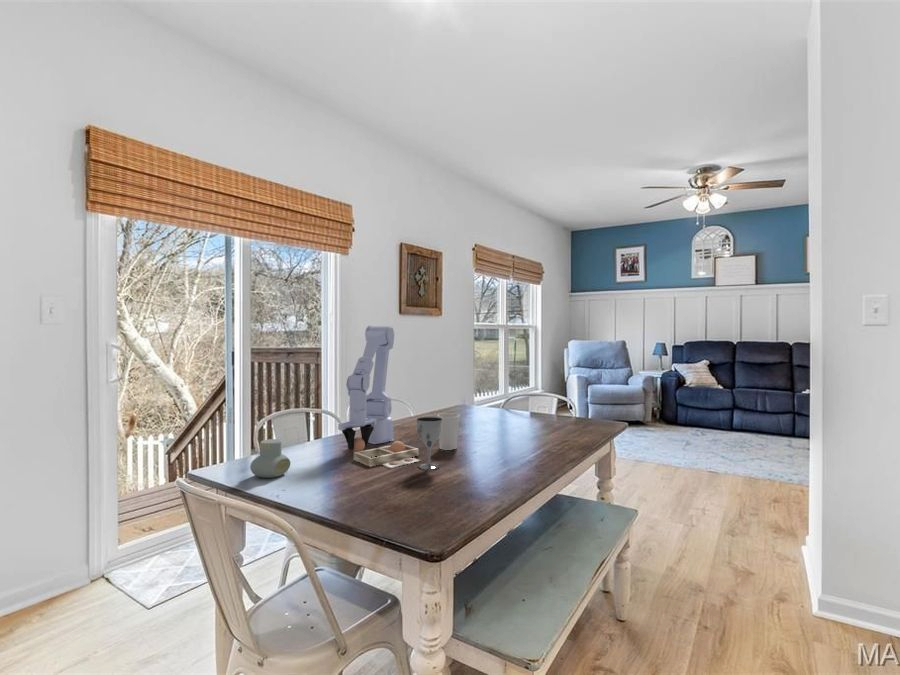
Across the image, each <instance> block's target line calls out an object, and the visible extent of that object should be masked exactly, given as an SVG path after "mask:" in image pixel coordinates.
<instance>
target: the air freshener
mask: <svg viewBox="0 0 900 675" xmlns="http://www.w3.org/2000/svg"><path fill="white" fill-rule="evenodd" d="M249 466H250V468H249V469H250V471H251V473H252V474H253V475H254V476H256V477H259V478H261V479H262V478H263V479H275V477H276V478H279V477H281V476H282V475H284V474H285V473H287V472H288V470H289V469H290V468H291V461H290V458H289V457H288V456H287V455H285V454H283V453H282V440H280V439H277V438H275V439H274V438H272V439H271V438H270V439H269V438H268V439H264V440H260V442H259V455H258V456H256V457H255V458H254V459H253V460H251V463H250V465H249Z"/></svg>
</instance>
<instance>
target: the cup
mask: <svg viewBox="0 0 900 675" xmlns="http://www.w3.org/2000/svg"><path fill="white" fill-rule="evenodd" d="M436 417H440V418H442V431H441V435H440V437H439V439H438V442H439V448H440V449H444V450H452V449H456V448H457V449H458V439H459V427H460V426H459V425H460V417H461V416H460V414H457V413H451V412H450V413H447V412H446V413H438V414H437V415H436ZM440 449H439V450H440Z"/></svg>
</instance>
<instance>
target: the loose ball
mask: <svg viewBox="0 0 900 675" xmlns="http://www.w3.org/2000/svg"><path fill="white" fill-rule="evenodd" d="M365 448H366V447H365V442H364V440H363V439H362V437H354V450H352V451H353V453H354V452H360V451H365V450H364V449H365Z"/></svg>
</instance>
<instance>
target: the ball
mask: <svg viewBox="0 0 900 675" xmlns="http://www.w3.org/2000/svg"><path fill="white" fill-rule="evenodd" d="M390 445H391V447H390V450H391V452H394V453H397V452H401V451H405V445H406V444H405V443H403V441H401V440H394V441H392V443H391V444H390Z"/></svg>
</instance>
